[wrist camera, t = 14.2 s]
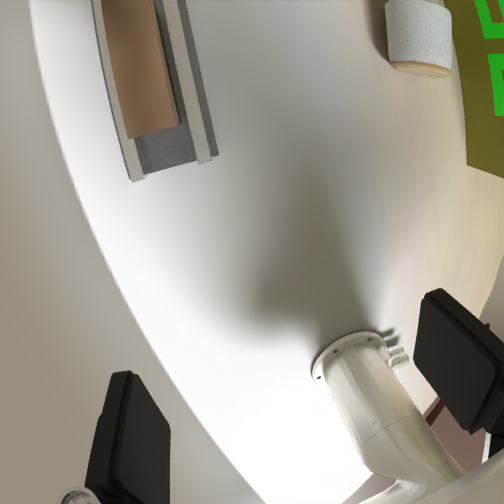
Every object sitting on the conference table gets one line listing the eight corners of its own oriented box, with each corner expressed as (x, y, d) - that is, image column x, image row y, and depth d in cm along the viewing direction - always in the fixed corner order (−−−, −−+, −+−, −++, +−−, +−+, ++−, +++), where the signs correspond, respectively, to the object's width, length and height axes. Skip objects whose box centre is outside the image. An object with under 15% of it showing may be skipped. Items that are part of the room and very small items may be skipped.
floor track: (179, -24, 21) (178, -38, 18) (218, 153, 30) (220, 158, 27) (93, 2, 21) (83, -8, 17) (131, 177, 29) (123, 185, 26)
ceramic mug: (376, 70, 28) (419, 65, 22) (371, 6, 25) (411, -10, 18) (442, 83, 30) (486, 86, 23) (438, 26, 26) (480, 20, 20)
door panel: (157, 11, 22) (146, -20, 15) (181, 123, 27) (175, 125, 20) (122, 21, 22) (99, -5, 14) (145, 133, 27) (128, 139, 20)
